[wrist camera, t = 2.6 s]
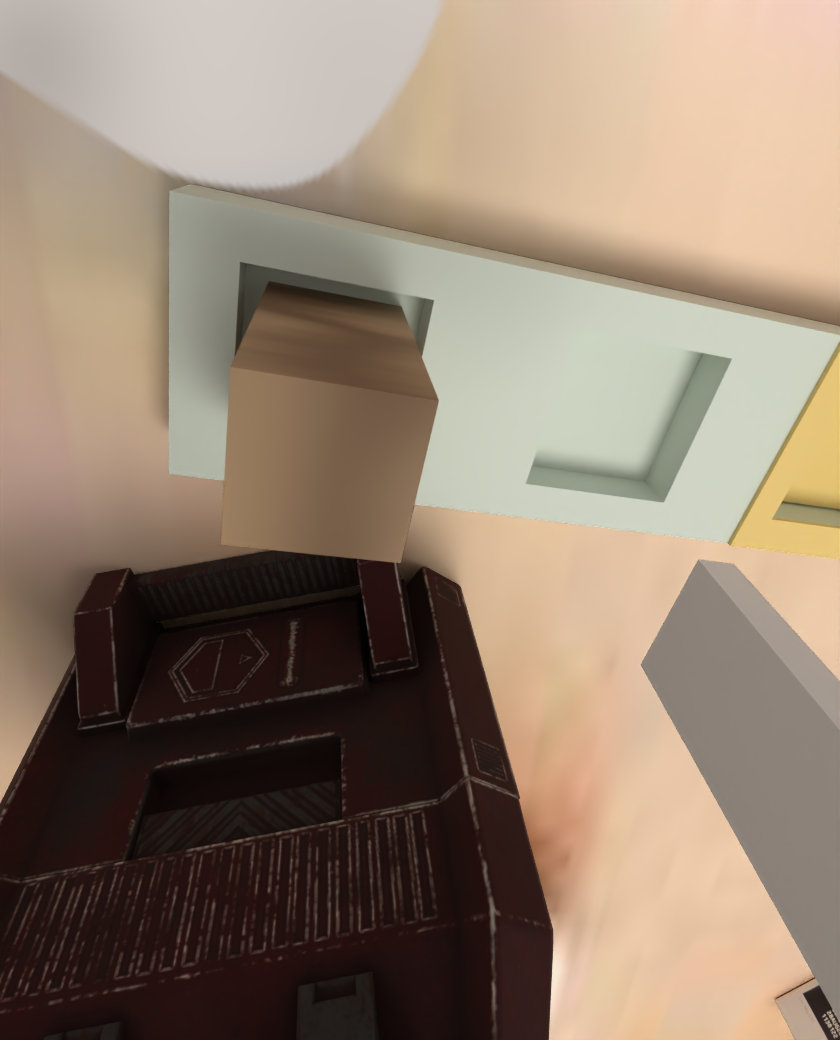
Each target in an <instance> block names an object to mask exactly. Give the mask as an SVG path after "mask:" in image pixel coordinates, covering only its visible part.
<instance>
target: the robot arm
mask: <svg viewBox="0 0 840 1040" xmlns="http://www.w3.org/2000/svg"><path fill="white" fill-rule="evenodd" d="M641 666H642V668H643V670H644V671H645V673H646V675H647V677H648V679H649V680H650V682H651V684H652V686H653V688H654V689H655V691H656V693H657V695H658V697H659V698H660V700H661V702H662V704H663V706H664V707H665V709H666V711H667V713H668V715H669V716H670V718H671V720H672V722H673V723H674V725H675V727H676V729H677V731H678V732H679V734H680V736H681V738H682V740H683V741H684V743H685V745H686V747H687V749H688V750H689V752H690V754H691V756H692V758H693V759H694V761H695V763H696V765H697V767H698V768H699V770H700V772H701V774H702V776H703V777H704V779H705V781H706V783H707V785H708V786H709V788H710V790H711V792H712V793H713V795H714V797H715V799H716V801H717V802H718V804H719V806H720V808H721V810H722V811H723V813H724V815H725V817H726V819H727V820H728V822H729V824H730V826H731V828H732V829H733V831H734V833H735V835H736V837H737V838H738V840H739V842H740V844H741V846H742V847H743V849H744V851H745V853H746V855H747V856H748V858H749V860H750V862H751V863H752V865H753V867H754V869H755V871H756V872H757V874H758V876H759V878H760V880H761V881H762V883H763V885H764V887H765V889H766V890H767V892H768V894H769V896H770V898H771V899H772V901H773V903H774V905H775V907H776V908H777V910H778V912H779V914H780V916H781V917H782V919H783V921H784V923H785V924H786V926H787V928H788V930H789V932H790V933H791V935H792V937H793V939H794V941H795V942H796V944H797V946H798V948H799V950H800V951H801V953H802V955H803V957H804V959H805V960H806V962H807V964H808V966H809V968H810V969H811V971H812V973H813V975H814V977H815V978H816V980H817V982H818V984H819V986H820V987H821V989H822V991H823V993H824V994H825V996H826V998H827V1000H828V1002H829V1003H830V1005H831V1007H832V1009H833V1011H834V1012H835V1014H836V1016H837V1018H838V1020H839V1021H840V681H839V680H838V679H837V678H836V677H835V675H834V674H833V673H832V672H831V671H830V670H829V669H828V668H827V667H826V665H825V664H824V663H823V662H822V661H821V660H820V659H819V658H818V657H817V655H816V654H815V653H814V652H813V651H812V650H811V649H810V648H809V647H808V646H807V644H806V643H805V642H804V641H803V640H802V639H801V638H800V637H799V636H798V634H797V633H796V632H795V631H794V630H793V629H792V628H791V627H790V626H789V624H788V623H787V622H786V621H785V620H784V619H783V618H782V617H781V616H780V614H779V613H778V612H777V611H776V610H775V609H774V608H773V607H772V606H771V604H770V603H769V602H768V601H767V600H766V599H765V598H764V597H763V596H762V594H761V593H760V592H759V591H758V590H757V589H756V588H755V587H754V586H753V585H752V583H751V582H750V581H749V580H748V579H747V578H746V577H745V576H744V575H743V573H742V572H741V571H740V570H739V569H738V568H737V567H736V566H735V565H734V564H731V563H723V562H714V561H706V560H698V561H697V563H696V565H695V567H694V568H693V570H692V572H691V574H690V576H689V578H688V579H687V581H686V583H685V585H684V587H683V589H682V590H681V592H680V594H679V596H678V598H677V600H676V601H675V603H674V605H673V607H672V609H671V610H670V612H669V614H668V616H667V618H666V620H665V621H664V623H663V625H662V627H661V629H660V631H659V632H658V634H657V636H656V638H655V640H654V642H653V643H652V645H651V647H650V649H649V651H648V652H647V654H646V656H645V658H644V660H643V662H642V663H641Z"/></svg>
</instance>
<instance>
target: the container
mask: <svg viewBox="0 0 840 1040" xmlns="http://www.w3.org/2000/svg"><path fill="white" fill-rule="evenodd" d="M776 1003H777V1005H778V1007H779V1009H780V1011H781V1013H782V1015H783V1017H784V1019H785V1021H786V1023H787V1025H788V1027H789V1029H790V1031H791V1033H792V1035H793V1037H794V1039H795V1040H840V1021H839V1020H838V1018H837V1016H836V1014H835V1012H834V1011H833V1009H832V1007H831V1005H830V1003H829V1002H828V1000H827V998H826V996H825V994H824V993H823V991H822V989H821V987H820V986H819V984H818V982H817V980H816V978H814V979H813V980H811V981H809V982H807V983H805V984H803V985H801V986H800V987H798V988H796V989H794V990H792V991H790V992H788V993H787V994H785V995H783V996H781V997H779V998H777V1000H776Z"/></svg>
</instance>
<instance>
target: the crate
mask: <svg viewBox="0 0 840 1040" xmlns="http://www.w3.org/2000/svg"><path fill="white" fill-rule="evenodd" d="M357 585H360V586H361V592H362V594H357V595H352V596H346V597H341V598H335V599H330V600H324V601H318V602H313V603H307V604H302V605H296V606H291V607H285V608H280V609H274V610H268V611H263V612H257V613H252V614H246V615H241V616H235V617H230V618H224V619H218V620H213V621H207V622H202V623H196V624H191V625H185V626H180V627H174V628H168V629H164V627H163V625H162V623H161V622H160V623H157V621H162V620H168V619H173V618H179V617H185V616H190V615H196V614H201V613H207V612H212V611H218V610H224V609H229V608H235V607H240V606H246V605H252V604H257V603H263V602H268V601H274V600H279V599H285V598H291V597H296V596H302V595H307V594H313V593H318V592H324V591H330V590H335V589H341V588H346V587H352V586H357ZM73 627H74V645H75V655H74V657H73V659H72V661H71V663H70V665H69V667H68V669H67V671H66V673H65V675H64V677H63V679H62V681H61V683H60V685H59V687H58V689H57V691H56V693H55V695H54V697H53V699H52V701H51V703H50V705H49V707H48V709H47V711H46V713H45V715H44V717H43V719H42V721H41V723H40V725H39V727H38V729H37V731H36V733H35V735H34V737H33V739H32V741H31V743H30V745H29V747H28V749H27V751H26V753H25V755H24V757H23V759H22V761H21V763H20V765H19V767H18V769H17V771H16V773H15V775H14V777H13V779H12V781H11V783H10V785H9V787H8V789H7V791H6V793H5V795H4V797H3V799H2V801H1V803H0V1040H549V1022H550V1001H551V980H552V960H553V928H552V924H551V920H550V916H549V913H548V909H547V905H546V901H545V898H544V894H543V890H542V886H541V883H540V879H539V875H538V871H537V868H536V864H535V860H534V856H533V853H532V849H531V845H530V841H529V838H528V834H527V830H526V826H525V822H524V818H523V814H522V810H521V806H520V802H519V799H520V796H519V793H518V789H517V785H516V782H515V778H514V775H513V771H512V768H511V764H510V760H509V757H508V753H507V750H506V746H505V743H504V739H503V736H502V732H501V728H500V725H499V721H498V718H497V714H496V711H495V707H494V704H493V700H492V696H491V693H490V689H489V686H488V682H487V679H486V675H485V671H484V668H483V664H482V661H481V657H480V654H479V650H478V647H477V643H476V639H475V636H474V632H473V629H472V625H471V622H470V618H469V615H468V611H467V607H466V604H465V600H464V597H463V593H462V590H461V587H460V586H459V585H458V584H456V583H454V582H452V581H451V580H449V579H447V578H445V577H443V576H442V575H440V574H438V573H436V572H434V571H432V570H431V569H429V568H426V567H422V568H421V569H420V570H419V571H418V572H417V573H416V575H415V576H414V577H413V578H412V579H411V580H410V581H409V582H408V584H407V585H406V582H405V579H401V578H400V572H399V567H398V563H394V562H384V561H375V560H365V559H355V558H345V557H336V556H326V555H316V554H306V553H296V552H287V551H277V550H272V551H267V552H261V553H255V554H250V555H244V556H238V557H233V558H227V559H221V560H216V561H210V562H204V563H199V564H193V565H188V566H182V567H176V568H171V569H165V570H159V571H154V572H148V573H142V574H137V575H134V574H133V572H132V571H131V569H130V568H126V569H120V570H115V571H109V572H104V573H98V574H95V575H94V577H93V579H92V580H91V582H90V584H89V586H88V588H87V589H86V591H85V593H84V595H83V597H82V599H81V600H80V602H79V604H78V606H77V608H76V610H75V611H74V613H73Z"/></svg>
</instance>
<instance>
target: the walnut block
mask: <svg viewBox="0 0 840 1040" xmlns="http://www.w3.org/2000/svg"><path fill="white" fill-rule="evenodd" d="M438 403H439V399H438V397H437V394H436V392H435V389H434V387H433V384H432V382H431V379H430V377H429V374H428V372H427V369H426V367H425V364H424V362H423V359H422V357H421V354H420V352H419V349H418V347H417V344H416V342H415V339H414V336H413V334H412V331H411V329H410V326H409V324H408V321H407V319H406V316H405V314H404V311H403V309H402V306H397V305H392V304H386V303H381V302H376V301H371V300H366V299H360V298H355V297H350V296H345V295H340V294H334V293H329V292H324V291H319V290H314V289H308V288H303V287H298V286H293V285H288V284H282V283H277V282H272V281H269V282H268V284H267V286H266V289H265V291H264V293H263V295H262V298H261V300H260V302H259V304H258V306H257V309H256V311H255V313H254V315H253V318H252V320H251V322H250V324H249V326H248V329H247V331H246V333H245V335H244V338H243V340H242V342H241V344H240V346H239V349H238V351H237V353H236V355H235V358H234V360H233V362H232V364H231V366H230V381H229V400H228V418H227V437H226V456H225V475H224V493H223V512H222V531H221V545H228V546H238V547H248V548H257V549H267V550H277V551H287V552H296V553H306V554H316V555H326V556H336V557H345V558H355V559H365V560H375V561H384V562H394V563H401V559H402V555H403V551H404V547H405V542H406V538H407V534H408V530H409V525H410V521H411V517H412V513H413V509H414V504H415V500H416V496H417V492H418V487H419V483H420V479H421V475H422V471H423V466H424V462H425V458H426V454H427V450H428V445H429V441H430V437H431V433H432V428H433V424H434V420H435V416H436V412H437V407H438Z"/></svg>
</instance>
